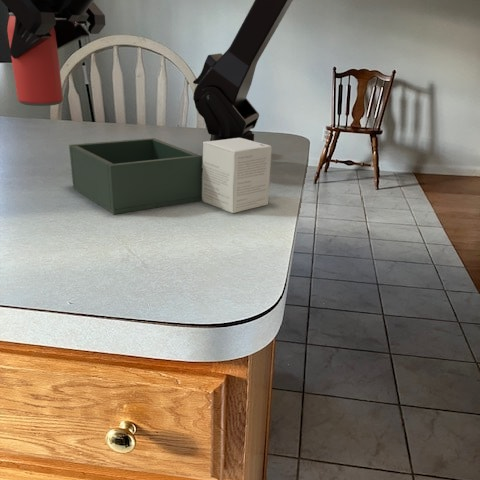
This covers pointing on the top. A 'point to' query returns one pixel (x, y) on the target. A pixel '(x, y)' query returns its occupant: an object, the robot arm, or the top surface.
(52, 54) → the beer can
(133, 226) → the top surface
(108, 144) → the open storage bin
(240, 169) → the product box
